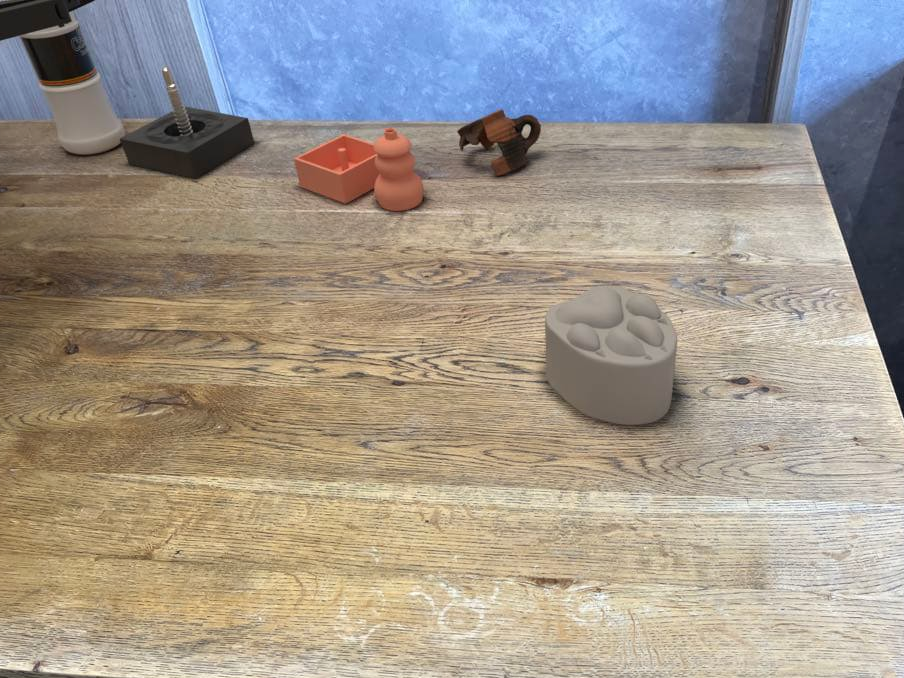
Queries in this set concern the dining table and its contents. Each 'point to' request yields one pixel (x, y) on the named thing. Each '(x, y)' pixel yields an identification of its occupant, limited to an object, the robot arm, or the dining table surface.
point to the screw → (177, 103)
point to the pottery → (363, 170)
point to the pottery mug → (502, 138)
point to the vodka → (73, 89)
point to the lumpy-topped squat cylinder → (612, 355)
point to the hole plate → (188, 142)
